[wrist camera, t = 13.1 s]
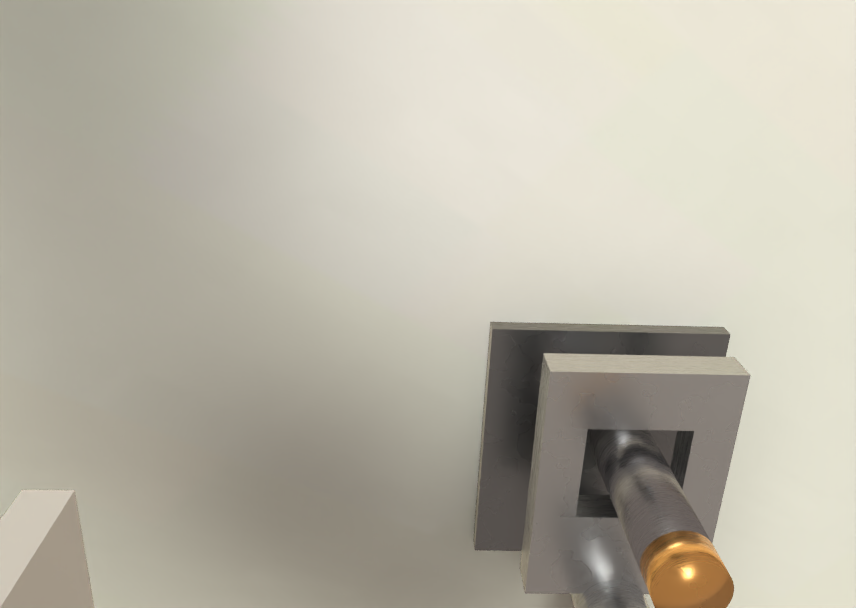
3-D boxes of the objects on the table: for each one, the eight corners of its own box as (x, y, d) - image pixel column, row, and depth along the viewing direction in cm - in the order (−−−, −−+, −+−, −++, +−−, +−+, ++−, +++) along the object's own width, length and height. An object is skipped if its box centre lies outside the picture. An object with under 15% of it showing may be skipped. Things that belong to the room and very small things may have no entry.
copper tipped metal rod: (579, 381, 46) (660, 562, 32) (635, 382, 46) (740, 562, 32) (572, 430, 47) (647, 625, 33) (627, 431, 48) (725, 625, 33)
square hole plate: (491, 306, 45) (536, 466, 30) (726, 311, 46) (882, 470, 31) (473, 540, 52) (503, 764, 37) (679, 541, 52) (788, 763, 38)
